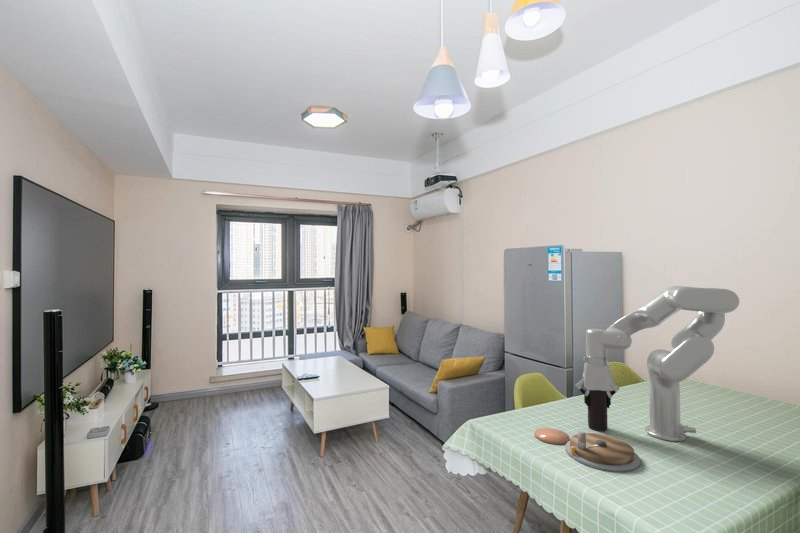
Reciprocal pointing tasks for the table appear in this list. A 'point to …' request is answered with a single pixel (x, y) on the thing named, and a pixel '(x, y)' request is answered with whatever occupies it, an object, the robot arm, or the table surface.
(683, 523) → the table surface
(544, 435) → the peach dome
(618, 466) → the wheel base
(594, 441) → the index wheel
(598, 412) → the vinegar
